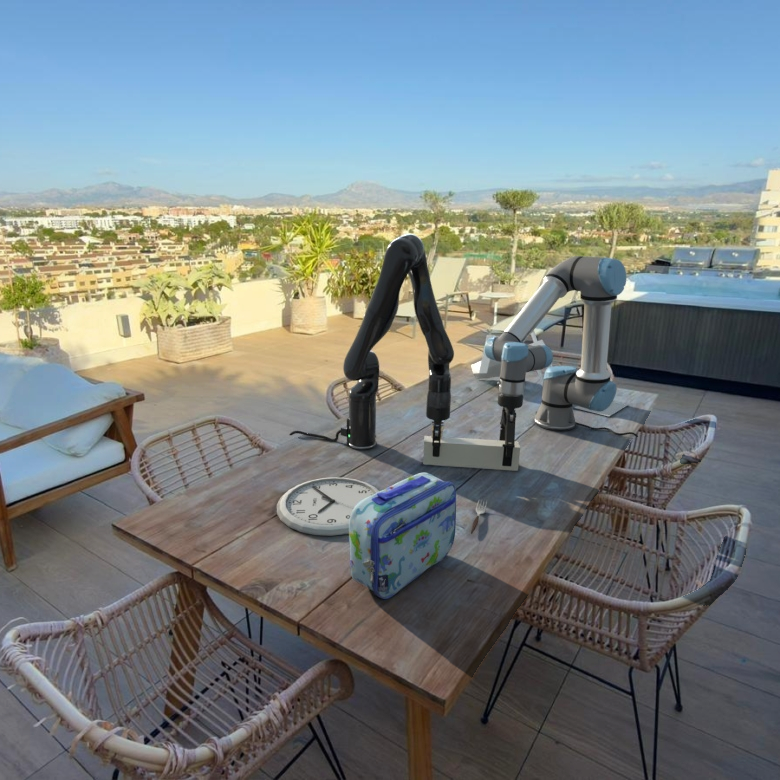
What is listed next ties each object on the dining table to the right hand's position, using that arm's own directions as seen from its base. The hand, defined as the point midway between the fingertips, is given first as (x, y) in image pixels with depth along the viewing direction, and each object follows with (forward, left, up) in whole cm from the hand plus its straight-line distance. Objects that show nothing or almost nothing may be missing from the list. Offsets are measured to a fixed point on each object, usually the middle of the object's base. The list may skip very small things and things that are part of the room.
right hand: (504, 456), depth 167 cm
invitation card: (-47, -67, -4) cm, 82 cm away
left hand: (+22, 0, 0) cm, 22 cm away
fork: (+10, +34, -4) cm, 35 cm away
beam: (+11, 0, -4) cm, 11 cm away
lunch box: (+27, +58, -4) cm, 64 cm away
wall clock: (+49, +32, -4) cm, 58 cm away
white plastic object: (-11, -92, -4) cm, 93 cm away
